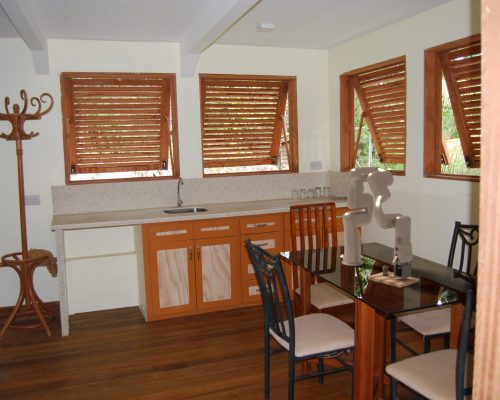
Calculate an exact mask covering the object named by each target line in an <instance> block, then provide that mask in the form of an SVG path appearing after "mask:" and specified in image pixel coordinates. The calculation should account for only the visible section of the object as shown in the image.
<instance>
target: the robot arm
mask: <svg viewBox="0 0 500 400" xmlns="http://www.w3.org/2000/svg"><path fill="white" fill-rule="evenodd" d="M347 176H348V177H347V178H348V190H347V200H346V204H347V205H346V206H347V208H348V209H349V211H346V212H345V213H343V215H342V223H343V231H344V232H343V233H344V237H343V238H344V241H343V243H344V249H343V250H344V254H341V255H340V256H339V257H340V258H341V259H342V260H341V264H342V265H344V266H350V267H351V266H352V267H353V266H354V267H356V266H357V267H359V266H362V265H364V261H363V260H361V259H362V258H361V257H362V256H361V255H362V252H361V251H362V250H361V249H362V248H361V245H362V243H361V242H362V240H361V239H362V233H361V232H360V230H359V228H358V227H366V226H369V225H371V223H372V220H373V218H374V220H375V221H376V224H377V225H378V228H380V229H383V230H388V229H394V231H395V232H394V247H393V260H392V265H393V267H394V266H395V275H396V276H400V277H401V269H400V268H401V264H403V263H408V264H412V263H411V262H412V261H413V247H412V241H411V237H412V236H411V233H412V232H411V229H412V226H411V224H412V217H410V216H409V215H403V214H401V213H398V212H397V213H395V212H394V213H385V214H384V210H383V208H382V205H383V203H385V202H387V201H388V200H389V199H390V198H391V197H392V194H391V192H390V189H389V187H391V186H392V185H393V183H394V176H393V174H392V173H391V172H390V171H389V170H387V169H384V168H382V167H379V166H359V167H354V168H352V169H350V171H348V175H347ZM363 183H368V185H369V188H370V191H371V193H372V194H371V193H370V192H364V189H365V188H364V184H363ZM350 210H351V211H350ZM398 264H399V265H398Z"/></svg>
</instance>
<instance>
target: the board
mask: <svg viewBox="0 0 500 400" xmlns="http://www.w3.org/2000/svg"><path fill="white" fill-rule="evenodd" d="M367 280H369V281H373V282H377V283H380V284H384V285H388V286H389V285H390V286H392V287H396V288H400V289H401V288H404V287H407V286H410V285H413V284H415V283H419V282H420V278H418V277H415V276H414V277H413V276H411V277H408V278H405V279H403V278H398V277H394V271H393V272H392V271H389V266H388V265H382V272H379V273H375V274H372V275H368V276H367Z"/></svg>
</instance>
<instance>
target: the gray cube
mask: <svg viewBox="0 0 500 400" xmlns="http://www.w3.org/2000/svg"><path fill="white" fill-rule="evenodd" d="M398 265H399V264H398ZM400 269H401V277H400V276H396V275H395V266H394V265H393V273H394V277H398V278H403V279H405V278H408V277H412V263H410V264H408V263H403V264H401V268H400Z"/></svg>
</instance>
